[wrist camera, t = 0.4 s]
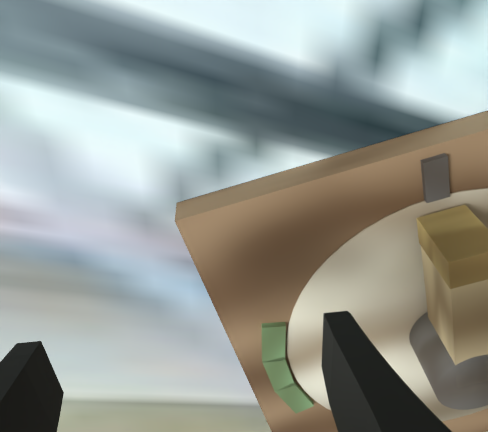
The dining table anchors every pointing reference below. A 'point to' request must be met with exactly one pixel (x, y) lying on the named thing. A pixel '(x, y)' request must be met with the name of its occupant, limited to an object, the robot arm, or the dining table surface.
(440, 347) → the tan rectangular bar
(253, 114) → the dining table surface
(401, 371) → the board
